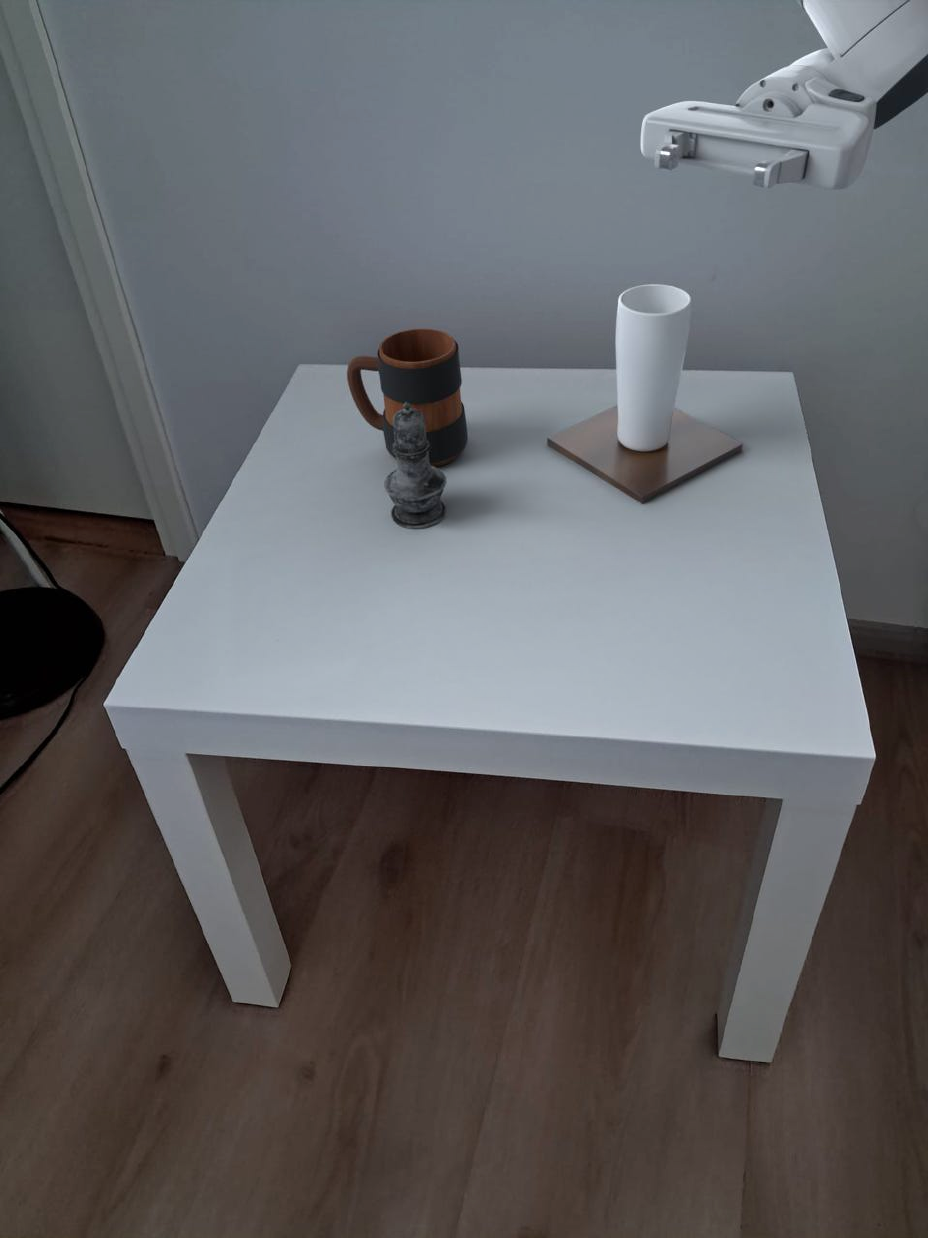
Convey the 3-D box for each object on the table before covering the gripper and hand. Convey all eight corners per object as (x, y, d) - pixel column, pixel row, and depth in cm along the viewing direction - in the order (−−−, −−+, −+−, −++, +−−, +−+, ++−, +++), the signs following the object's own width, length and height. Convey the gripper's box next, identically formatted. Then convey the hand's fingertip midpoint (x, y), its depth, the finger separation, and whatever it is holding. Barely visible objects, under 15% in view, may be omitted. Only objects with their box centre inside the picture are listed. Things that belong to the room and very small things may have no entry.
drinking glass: (680, 425, 97) (696, 285, 87) (672, 461, 93) (688, 317, 83) (615, 419, 99) (623, 281, 89) (604, 454, 94) (612, 312, 84)
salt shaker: (384, 499, 92) (369, 390, 84) (443, 490, 93) (434, 381, 85) (392, 535, 88) (376, 423, 80) (453, 525, 88) (444, 413, 80)
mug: (369, 422, 103) (355, 321, 95) (475, 429, 101) (470, 326, 93) (345, 465, 97) (327, 362, 89) (457, 474, 95) (450, 368, 87)
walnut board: (742, 450, 95) (743, 443, 94) (642, 504, 89) (642, 497, 89) (643, 398, 104) (644, 391, 103) (546, 444, 98) (546, 437, 97)
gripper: (684, 75, 91) (608, 112, 84) (895, 101, 81) (831, 146, 74) (678, 145, 96) (605, 186, 88) (878, 177, 86) (815, 227, 78)
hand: (710, 168), depth 81 cm, fingers open, 8 cm apart
